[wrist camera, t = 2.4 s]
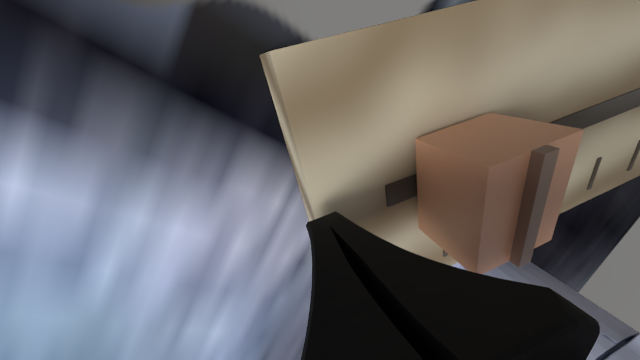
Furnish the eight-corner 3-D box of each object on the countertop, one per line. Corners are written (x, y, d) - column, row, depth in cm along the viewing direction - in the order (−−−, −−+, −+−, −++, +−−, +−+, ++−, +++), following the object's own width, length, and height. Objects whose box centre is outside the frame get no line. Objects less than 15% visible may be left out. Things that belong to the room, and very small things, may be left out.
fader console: (631, 144, 23) (685, 155, 20) (326, 278, 17) (344, 318, 14) (711, -57, 16) (808, -82, 13) (259, 54, 10) (269, 51, 8)
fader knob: (480, 201, 14) (561, 245, 10) (418, 228, 13) (484, 285, 10) (490, 112, 11) (599, 131, 8) (415, 138, 11) (501, 172, 7)
